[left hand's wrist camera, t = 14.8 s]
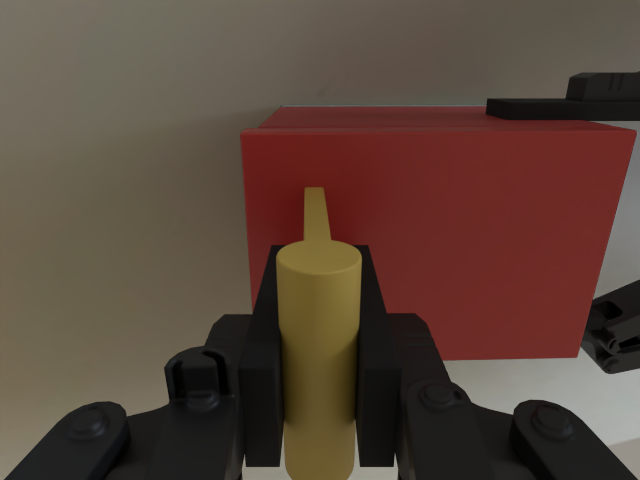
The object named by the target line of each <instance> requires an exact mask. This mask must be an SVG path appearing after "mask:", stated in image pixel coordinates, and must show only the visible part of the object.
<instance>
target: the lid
mask: <svg viewBox="0 0 640 480" xmlns="http://www.w3.org/2000/svg"><path fill="white" fill-rule="evenodd" d="M636 134H637V131H635V130H631V129H626V128H621V127H615V126H574V127H401V128H247V129H245V130H244V131H243V132H242V133H241V134H240V139H241V154H242V168H243V182H244V197H245V211H246V225H247V240H248V254H249V269H250V283H251V297H252V312H253V310H254V306H255V303H256V299H257V295H258V292H259V288H260V285H261V281H262V277H263V274H264V270H265V266H266V263H267V259H268V255H269V252H270V248H271V245H287V246H285V247H283V248H282V249H281V250H280V251H279V252H278V253H277V256H276V268H277V291H278V314H279V328H280V330H281V355H282V379H283V404H284V451H285V466H286V470H287V472H288V474H289V476H290V477H291V479H292V480H347V479H348V477H349V476H350V474H351V473H352V470H353V467H354V454H355V428H356V421H355V412H356V386H357V360H358V334H359V321H360V294H361V267H362V256H361V254H360V252H359V250H357V249H356V248H355V247H353V246H351V245H368V246H369V249H370V253H371V257H372V260H373V264H374V268H375V271H376V275H377V279H378V282H379V286H380V290H381V293H382V297H383V300H384V304H385V308H386V311H387V313H416V314H417V315H418V316H419V317H420V318H421V319H422V320H424V321H425V322H426V323H427V325H428V328H429V330H430V332H431V336H432V337H433V340H434V342H435V344H436V347H437V349H438V352H439V354H440V356H441V359H442V360H490V359H540V358H576V357H577V356H578V352H579V349H580V345H581V341H582V337H583V334H584V330H585V326H586V322H587V319H588V315H589V311H590V307H591V304H592V300H593V296H594V292H595V289H596V285H597V281H598V277H599V274H600V270H601V266H602V262H603V258H604V255H605V251H606V247H607V243H608V240H609V236H610V232H611V228H612V225H613V221H614V217H615V213H616V210H617V206H618V202H619V198H620V195H621V191H622V187H623V183H624V180H625V176H626V172H627V168H628V165H629V161H630V157H631V153H632V150H633V146H634V142H635V138H636Z"/></svg>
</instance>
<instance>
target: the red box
mask: <svg viewBox="0 0 640 480" xmlns="http://www.w3.org/2000/svg"><path fill="white" fill-rule="evenodd" d="M486 106H487V105H282V106H280V108H279V109H278V110H277V111H276V112H275V113H274V114H273V115H271V116H270V117H269V118H268V119H267V120H266V121H265V122H264V123H262V124H261V125H260V126H259V128H401V127H574V126H610V125H605V124H600V123H595V122H590V121H584V120H505V119H501V118H498V117H494V116H490V115H487V114H485V113H486Z"/></svg>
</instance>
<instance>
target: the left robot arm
mask: <svg viewBox="0 0 640 480" xmlns="http://www.w3.org/2000/svg"><path fill="white" fill-rule="evenodd" d="M285 246H287V245H271V248H270V252H269V255H268V259H267V263H266V266H265V270H264V274H263V277H262V281H261V285H260V288H259V292H258V295H257V299H256V303H255V306H254V310H253V314H225V315H223V316H222V317H221V318H220V319H219V320H218V321H217V322H215V323H214V324H213V326H212V328H211V331H210V333H209V336H208V339H207V340H206V343H205V345H204V346H200V347H194V348H190V349H187V350H185V351H182V352H180V353H178V354H177V355H175V356H174V357H173V358H171V359H170V360H169V361H168V363H167V364H166V366H165V367H164V370H165V376H166V382H167V389H168V395H169V404H167V405H165V406H163V407H161V408H158V409H155V410H152V411H148V412H144V413H140V414H136V415H131V416H127V415H126V411H125V410H124V409H123V407H122V406H121V405H120V404H116V403H113V402H110V401H108V402H95V403H91V404H88V405H84V406H82V407H80V408H78V409H76V410H74V411H72V412H70V413H68V414H67V415H66V416H65V417H64V418H62V419H61V420H60V421H59V422H58V423H57V424H56V425H55V426H54V427H53V428H52V429H51V430H50V431H49V432H48V433H47V434H46V435H45V436H44V437H43V439H42V440H41V441H40V442H39V443H38V444H37V445H36V446H35V447H34V448H33V449H32V450H31V451H30V452H29V454H28V455H27V456H26V457H25V458H24V459H23V460H22V461H21V462H20V463H19V464H18V465H17V466H16V467H15V469H14V470H13V471H12V472H11V473H10V474H9V475H8V476H7V477H6V478H5V479H4V480H243V479H242V465H243V460H244V455H245V460H246V467H280V457H281V448H282V438H283V428H284V404H283V379H282V355H281V330H280V328H279V314H278V291H277V268H276V256H277V253H278V252H279V251H280V250H281V249H282V248H283V247H285ZM351 246H353V247H355V248H356V249H357V250H359V252H360V254H361V256H362V267H361V294H360V321H359V334H358V360H357V386H356V412H355V421H356V431H357V441H358V451H359V461H360V467H394V456H395V455H396V460H397V465H398V479H397V480H638V479H637V478H636V477H635V476H634V475H633V474H632V473H631V472H630V471H629V470H628V469H627V467H626V466H625V465H624V464H623V463H622V462H621V461H620V460H619V459H618V458H617V457H616V456H615V455H614V454H613V453H612V452H611V450H610V449H609V448H608V447H607V446H606V445H605V444H604V443H603V442H602V441H601V440H600V439H599V438H598V437H597V436H596V434H595V433H594V432H593V431H592V430H591V429H590V428H589V427H588V426H587V425H586V424H585V423H584V422H583V421H582V420H581V419H580V418H579V417H577V416H576V415H575V414H574V413H573V412H571V411H570V410H568V409H566V408H564V407H562V406H560V405H558V404H555V403H551V402H548V401H544V400H528V401H524V402H521V403H519V405H518V406H517V407H516V408H515V409H514V413H513V415H511V414H507V413H503V412H499V411H494V410H490V409H487V408H484V407H480V406H478V405H476V404H474V403H472V402H471V400H470V399H469V397H468V395H467V394H466V392H465V391H464V390H463V389H462V388H460V387H459V386H458V385H457V384H455V383H453V382H451V380H450V378H449V375H448V373H447V371H446V368H445V366H444V363H443V361H442V359H441V356H440V354H439V352H438V349H437V347H436V344H435V342H434V340H433V337H432V336H431V332H430V330H429V328H428V325H427V323H426V322H425V321H424V320H422V319H421V318H420V317H419V316H418V315H417V314H416V313H387V311H386V308H385V304H384V300H383V297H382V293H381V290H380V286H379V282H378V279H377V275H376V271H375V268H374V264H373V260H372V257H371V253H370V249H369V246H368V245H351Z"/></svg>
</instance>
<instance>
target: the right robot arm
mask: <svg viewBox="0 0 640 480" xmlns="http://www.w3.org/2000/svg"><path fill="white" fill-rule="evenodd" d="M485 114H487V115H490V116H494V117H498V118H501V119H505V120H584V121H640V71H639V72H634V73H580V74H577V75H575V76H572V77H570V79H569V84H568V89H567V94H566V99H487V106H486V113H485ZM580 346H581V348H582V349H583V350H584V351H585V352H586V353H587V354H588V355H589V356H590V357H591V358H592V359H593V360H594V361H595V362H596V364H597V365H598V366H599V367H600V368H601V369H602V370H603V371H604V372H605V373H608V374H615V373H619V372H624V371H629V370H634V369H639V368H640V280H638V281H635V282H633V283H631V284H628V285H626V286H624V287H621V288H619V289H617V290H614V291H612V292H610V293H608V294H605V295H603V296H601V297H598V298H596V299H594V300H592V304H591V307H590V311H589V315H588V319H587V322H586V326H585V330H584V334H583V337H582V341H581V345H580Z"/></svg>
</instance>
